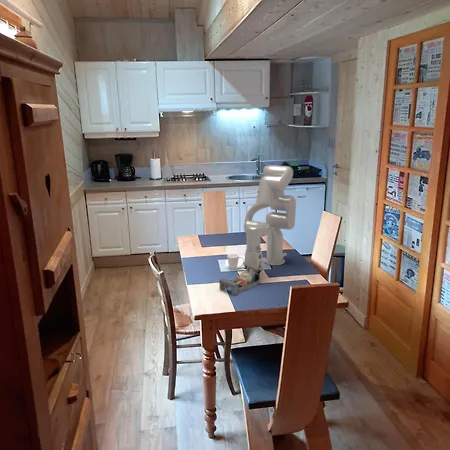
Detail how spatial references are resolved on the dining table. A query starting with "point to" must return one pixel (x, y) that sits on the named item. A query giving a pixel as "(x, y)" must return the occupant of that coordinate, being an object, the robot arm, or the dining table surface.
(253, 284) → the lane
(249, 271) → the jar
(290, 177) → the robot arm
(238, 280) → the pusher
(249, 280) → the jar resting
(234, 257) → the cup
